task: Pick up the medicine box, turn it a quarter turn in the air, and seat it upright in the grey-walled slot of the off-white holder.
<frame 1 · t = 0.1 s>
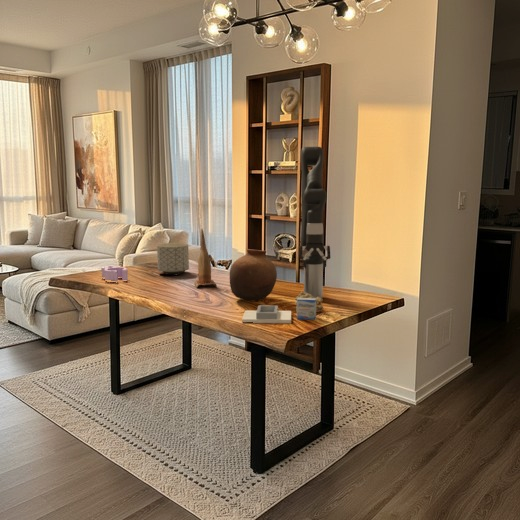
hand: (314, 268, 235), 17 cm above the table, tool pointing down, fingers open, 8 cm apart
brown spire tower: (205, 286, 280), on the table
mineral formation: (308, 310, 228), on the table
medicine box: (306, 319, 215), on the table
holder: (267, 318, 215), on the table
pottery: (253, 300, 248), on the table
planter: (173, 274, 317), on the table
clip: (114, 280, 300), on the table
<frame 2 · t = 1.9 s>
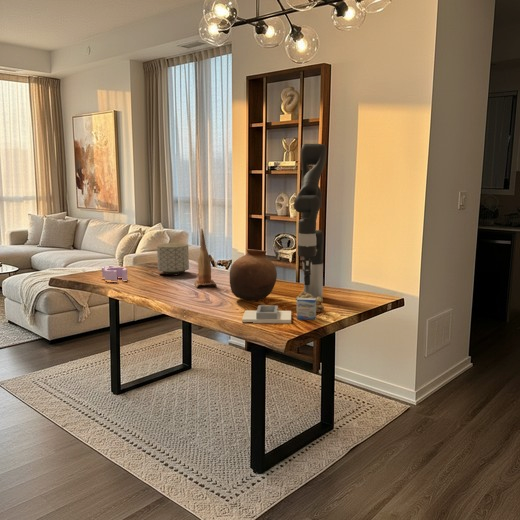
hand: (306, 282, 212), 15 cm above the table, tool pointing down, fingers open, 8 cm apart
nothing on the table moved.
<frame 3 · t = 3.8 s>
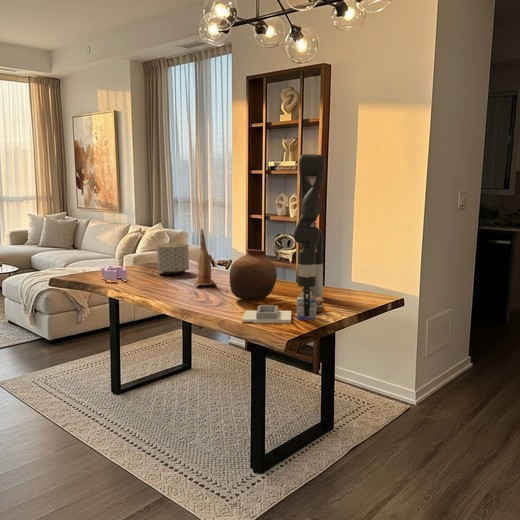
hand: (306, 314, 214), 2 cm above the table, tool pointing down, fingers closed on medicine box, 4 cm apart
medicine box: (306, 318, 215), on the table, touching gripper
everything else where it was.
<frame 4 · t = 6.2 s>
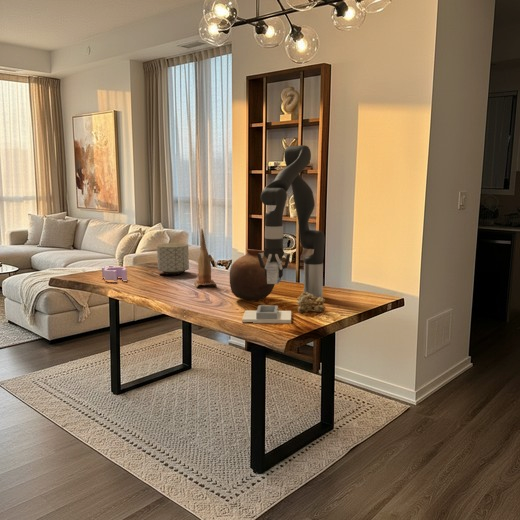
hand: (273, 277, 212), 18 cm above the table, tool pointing down, fingers closed on medicine box, 4 cm apart
medicine box: (273, 282, 212), point 15 cm above the table, touching gripper
everything else where it was.
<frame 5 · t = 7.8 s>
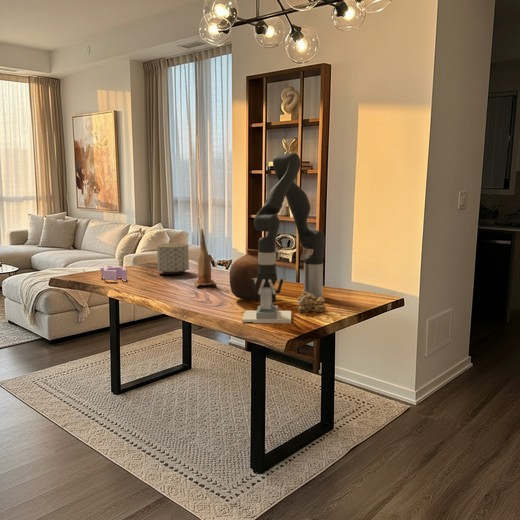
hand: (267, 302, 214), 7 cm above the table, tool pointing down, fingers closed on medicine box, 4 cm apart
medicine box: (267, 307, 215), point 5 cm above the table, touching gripper
when the fingers open (5 cm above the table, at t = 8.9 s): medicine box drops 2 cm, resting on holder.
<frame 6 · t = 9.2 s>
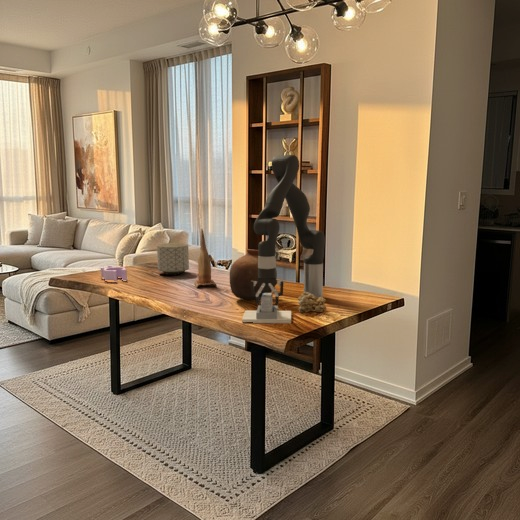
hand: (267, 305, 214), 6 cm above the table, tool pointing down, fingers open, 7 cm apart
medicine box: (267, 315, 215), point 1 cm above the table, touching holder
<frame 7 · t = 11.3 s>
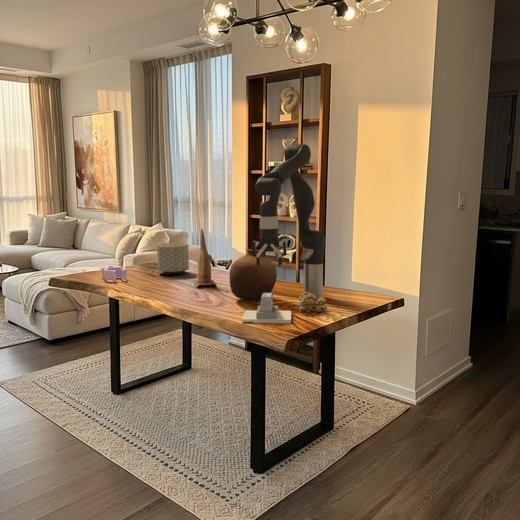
hand: (269, 265, 213), 22 cm above the table, tool pointing down, fingers open, 8 cm apart
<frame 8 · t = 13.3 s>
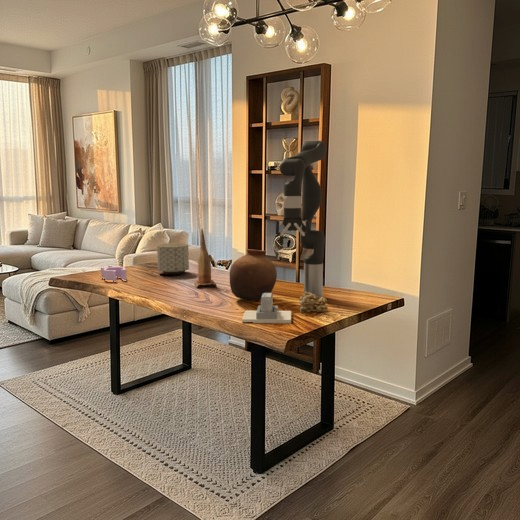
hand: (292, 244, 219), 30 cm above the table, tool pointing down, fingers open, 8 cm apart
at the end: medicine box 0.1 cm off-centre on the holder, point 1.3 cm above the holder's base; medicine box tilted 0°; the gripper is holding nothing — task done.
